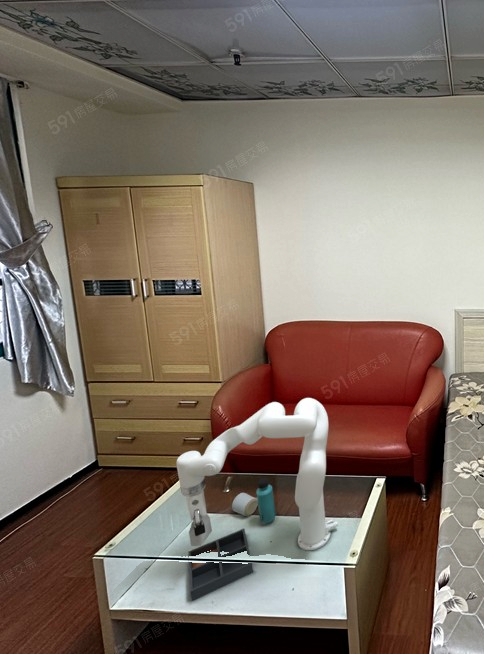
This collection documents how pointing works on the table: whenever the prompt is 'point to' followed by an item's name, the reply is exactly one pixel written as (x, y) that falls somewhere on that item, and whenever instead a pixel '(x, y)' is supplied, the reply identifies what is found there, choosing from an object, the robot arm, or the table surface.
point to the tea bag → (201, 538)
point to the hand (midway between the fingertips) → (199, 526)
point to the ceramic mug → (244, 504)
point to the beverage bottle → (265, 501)
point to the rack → (218, 565)
